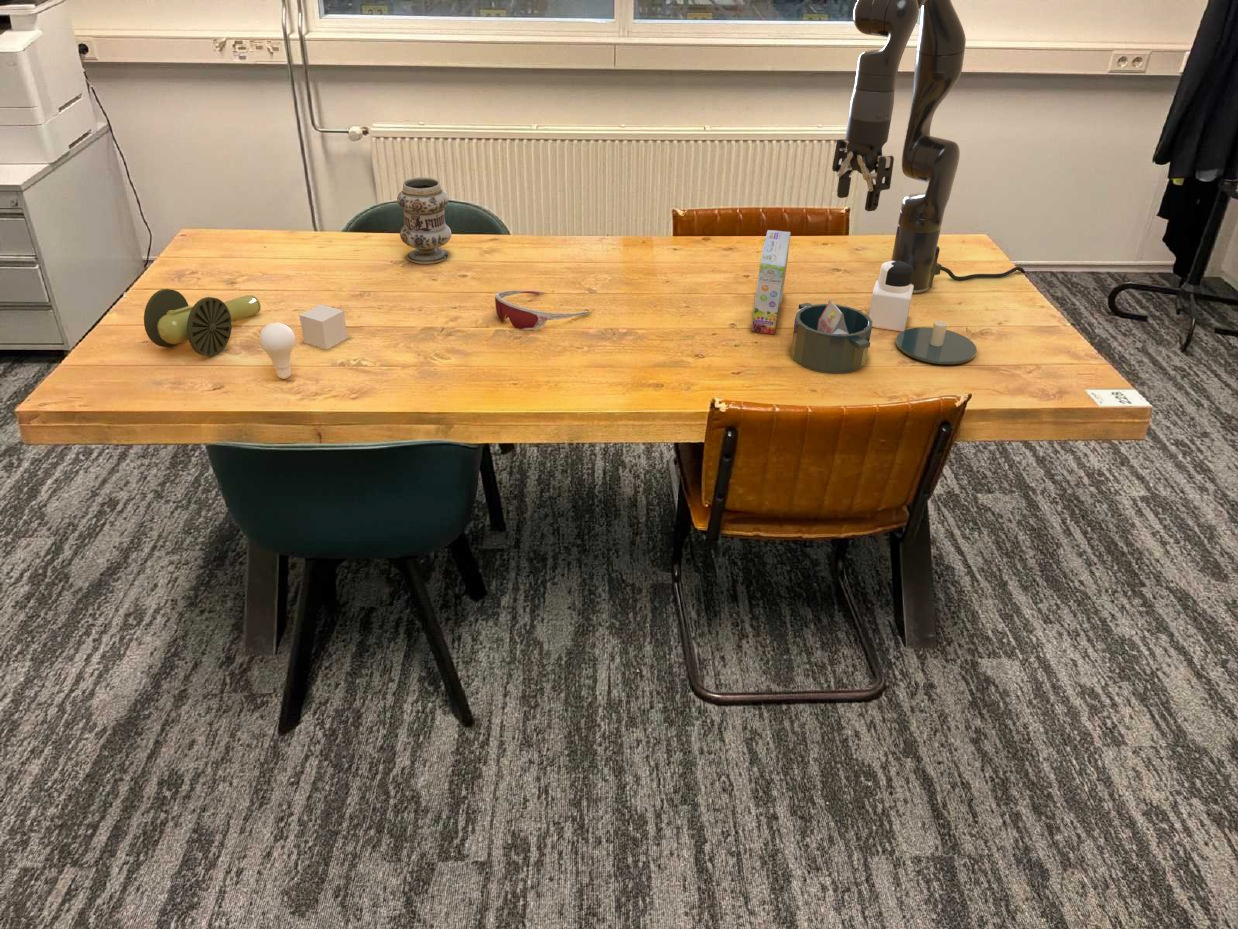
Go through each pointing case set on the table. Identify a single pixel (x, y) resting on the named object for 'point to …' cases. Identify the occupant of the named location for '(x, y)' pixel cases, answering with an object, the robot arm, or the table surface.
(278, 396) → the table surface
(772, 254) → the snack box
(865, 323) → the cooking pot
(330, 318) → the grey cube
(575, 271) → the table surface
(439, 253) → the apothecary jar
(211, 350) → the cannon
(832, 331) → the white carton
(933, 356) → the lid
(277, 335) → the lightbulb
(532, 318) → the sunglasses
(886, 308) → the container
